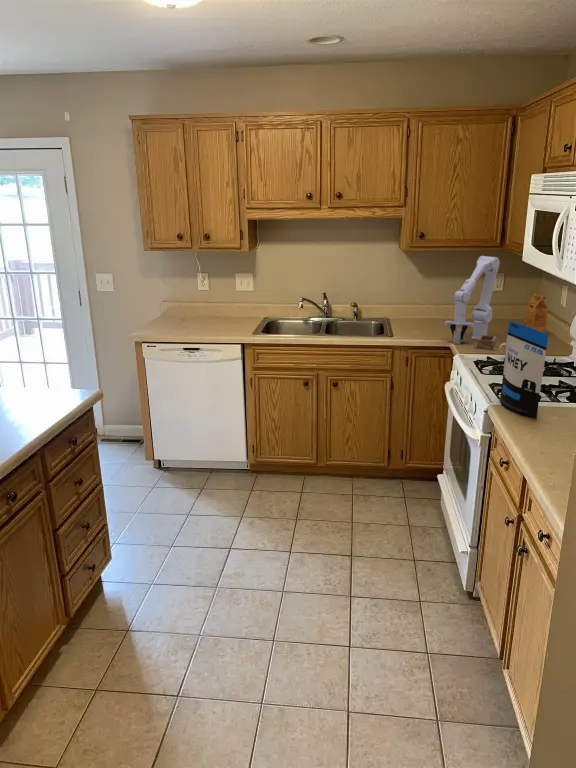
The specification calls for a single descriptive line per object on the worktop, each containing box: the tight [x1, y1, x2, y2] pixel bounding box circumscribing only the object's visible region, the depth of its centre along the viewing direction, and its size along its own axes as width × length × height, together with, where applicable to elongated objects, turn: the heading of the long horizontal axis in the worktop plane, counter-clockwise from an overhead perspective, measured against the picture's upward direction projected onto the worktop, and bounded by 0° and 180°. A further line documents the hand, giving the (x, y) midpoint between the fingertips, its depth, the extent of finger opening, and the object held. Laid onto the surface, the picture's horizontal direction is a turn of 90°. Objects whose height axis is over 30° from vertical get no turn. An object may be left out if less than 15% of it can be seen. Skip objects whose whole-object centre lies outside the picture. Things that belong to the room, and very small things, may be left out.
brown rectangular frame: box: [474, 334, 499, 351], centre depth 299 cm, size 13×10×4 cm
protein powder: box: [499, 319, 549, 420], centre depth 206 cm, size 10×24×30 cm, turn 10°
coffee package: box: [523, 293, 549, 333], centre depth 327 cm, size 10×12×22 cm
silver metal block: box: [452, 327, 463, 345], centre depth 307 cm, size 8×4×7 cm, turn 154°
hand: (457, 339), depth 307 cm, fingers closed on silver metal block, 3 cm apart
